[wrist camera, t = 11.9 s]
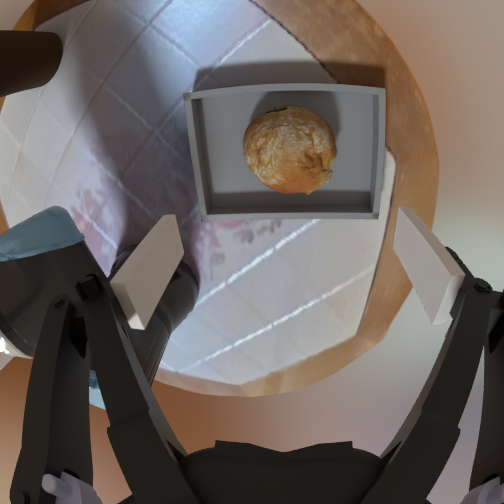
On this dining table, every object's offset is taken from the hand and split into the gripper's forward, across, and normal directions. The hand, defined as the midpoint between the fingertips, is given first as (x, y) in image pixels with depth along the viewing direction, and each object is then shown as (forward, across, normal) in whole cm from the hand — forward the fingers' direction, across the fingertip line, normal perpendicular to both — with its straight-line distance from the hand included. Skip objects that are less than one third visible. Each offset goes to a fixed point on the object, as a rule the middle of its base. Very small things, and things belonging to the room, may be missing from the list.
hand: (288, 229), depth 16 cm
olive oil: (+19, +34, -22) cm, 45 cm away
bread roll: (+18, -1, -1) cm, 18 cm away
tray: (+19, 0, -1) cm, 19 cm away
